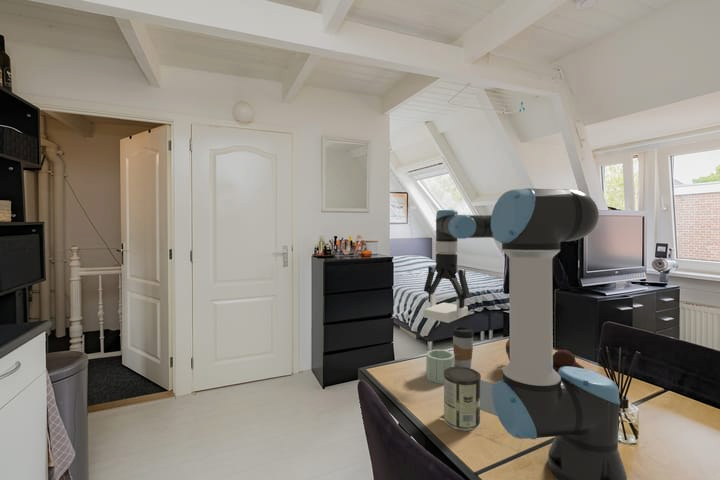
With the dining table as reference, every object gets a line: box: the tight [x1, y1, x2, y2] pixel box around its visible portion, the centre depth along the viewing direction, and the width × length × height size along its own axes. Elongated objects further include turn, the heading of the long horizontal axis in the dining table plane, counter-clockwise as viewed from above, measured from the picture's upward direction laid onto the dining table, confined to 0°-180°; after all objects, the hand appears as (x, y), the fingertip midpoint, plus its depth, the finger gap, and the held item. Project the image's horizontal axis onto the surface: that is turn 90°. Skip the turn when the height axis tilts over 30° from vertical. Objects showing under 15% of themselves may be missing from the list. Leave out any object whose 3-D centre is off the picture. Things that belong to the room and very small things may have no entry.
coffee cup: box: [452, 326, 475, 368], centre depth 141 cm, size 8×8×15 cm
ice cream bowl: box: [553, 349, 585, 372], centre depth 119 cm, size 11×11×15 cm
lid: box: [423, 302, 469, 324], centre depth 128 cm, size 14×10×3 cm
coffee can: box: [443, 366, 482, 432], centre depth 102 cm, size 10×10×14 cm
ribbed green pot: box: [425, 349, 455, 385], centre depth 131 cm, size 10×10×9 cm
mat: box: [480, 379, 498, 417], centre depth 117 cm, size 20×16×1 cm
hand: (445, 313), depth 128 cm, fingers closed on lid, 10 cm apart
